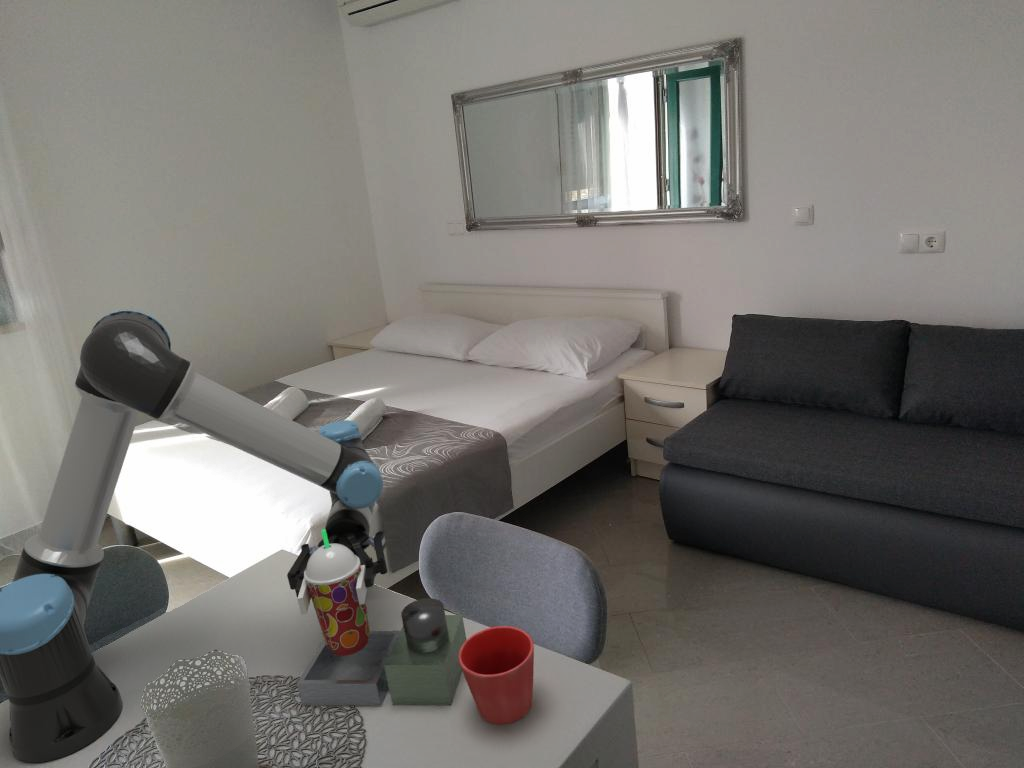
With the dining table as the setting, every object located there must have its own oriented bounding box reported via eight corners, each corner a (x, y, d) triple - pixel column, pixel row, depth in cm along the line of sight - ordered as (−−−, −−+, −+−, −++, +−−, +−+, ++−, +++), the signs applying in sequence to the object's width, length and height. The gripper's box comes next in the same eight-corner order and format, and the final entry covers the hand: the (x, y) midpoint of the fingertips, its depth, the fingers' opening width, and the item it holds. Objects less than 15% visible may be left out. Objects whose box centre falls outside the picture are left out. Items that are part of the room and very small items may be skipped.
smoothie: (340, 625, 123) (315, 515, 117) (386, 630, 120) (362, 517, 114) (312, 659, 115) (283, 543, 109) (359, 665, 112) (332, 546, 106)
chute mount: (302, 705, 115) (285, 638, 111) (333, 651, 126) (319, 589, 123) (450, 706, 110) (437, 636, 107) (469, 651, 122) (457, 586, 118)
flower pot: (453, 723, 107) (443, 665, 104) (491, 673, 116) (482, 619, 113) (520, 742, 102) (511, 682, 99) (553, 689, 111) (546, 632, 108)
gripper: (410, 536, 133) (406, 611, 111) (293, 556, 132) (265, 635, 110) (403, 498, 131) (397, 566, 109) (283, 518, 130) (253, 591, 108)
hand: (331, 601), depth 110 cm, fingers closed on smoothie, 8 cm apart
